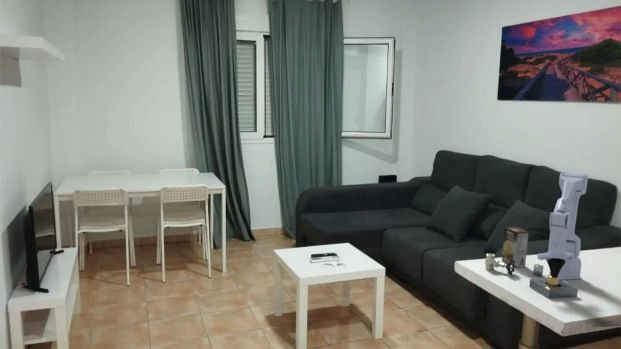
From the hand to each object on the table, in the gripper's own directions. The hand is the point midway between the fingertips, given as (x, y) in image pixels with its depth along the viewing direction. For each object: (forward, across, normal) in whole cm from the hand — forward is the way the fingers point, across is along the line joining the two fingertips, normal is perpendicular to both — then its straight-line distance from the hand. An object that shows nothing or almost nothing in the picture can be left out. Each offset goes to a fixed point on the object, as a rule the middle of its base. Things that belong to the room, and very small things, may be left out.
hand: (554, 276), depth 195 cm
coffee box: (+6, +4, +33) cm, 34 cm away
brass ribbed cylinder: (+6, 0, 0) cm, 6 cm away
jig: (+6, 0, 0) cm, 6 cm away
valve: (+6, -9, +24) cm, 27 cm away
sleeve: (+6, +6, +18) cm, 20 cm away
